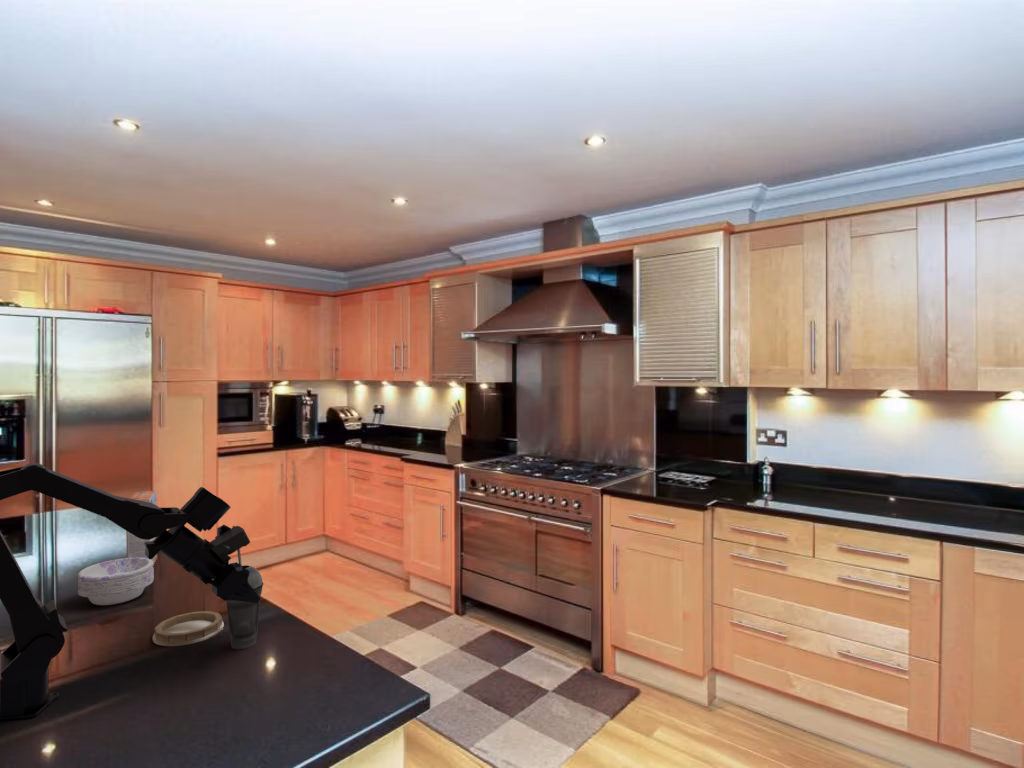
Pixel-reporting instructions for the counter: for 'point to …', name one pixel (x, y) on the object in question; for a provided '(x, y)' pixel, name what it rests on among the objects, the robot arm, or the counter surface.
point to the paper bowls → (115, 580)
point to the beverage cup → (245, 613)
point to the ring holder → (188, 628)
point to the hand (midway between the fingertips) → (250, 594)
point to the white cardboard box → (134, 543)
